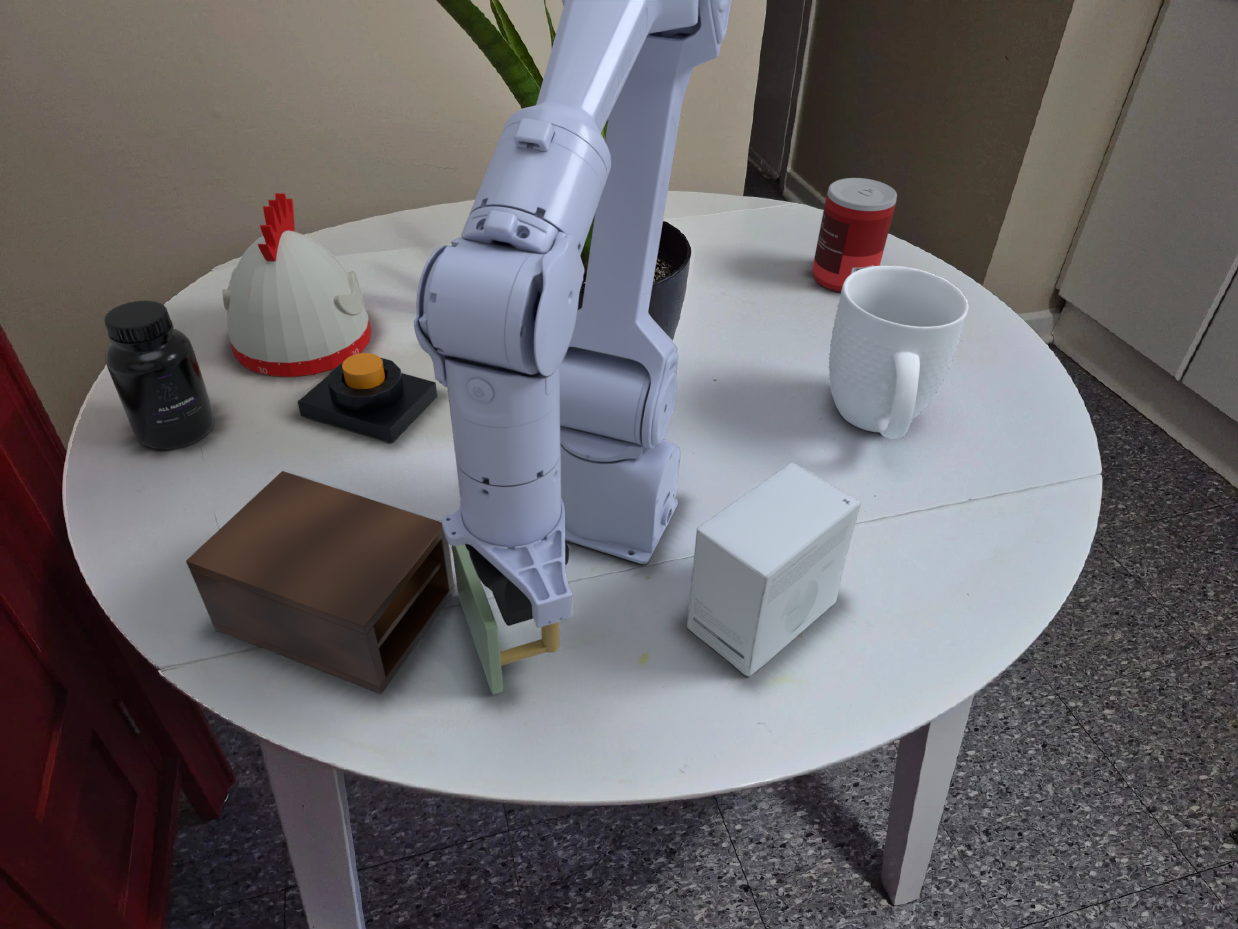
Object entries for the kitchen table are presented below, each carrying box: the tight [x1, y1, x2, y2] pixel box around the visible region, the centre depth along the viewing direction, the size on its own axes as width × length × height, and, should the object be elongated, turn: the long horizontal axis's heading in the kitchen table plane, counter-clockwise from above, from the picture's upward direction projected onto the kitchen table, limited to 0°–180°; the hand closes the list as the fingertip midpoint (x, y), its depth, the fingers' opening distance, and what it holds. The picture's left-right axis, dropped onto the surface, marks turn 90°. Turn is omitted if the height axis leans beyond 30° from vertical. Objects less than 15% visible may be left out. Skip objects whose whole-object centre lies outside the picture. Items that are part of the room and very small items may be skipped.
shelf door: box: [451, 544, 560, 696], centre depth 60 cm, size 5×9×8 cm, turn 22°
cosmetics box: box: [686, 461, 862, 678], centre depth 62 cm, size 10×6×10 cm, turn 133°
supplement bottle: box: [103, 299, 215, 450], centre depth 76 cm, size 7×7×12 cm
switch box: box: [296, 356, 438, 444], centre depth 82 cm, size 10×8×4 cm
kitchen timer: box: [221, 192, 372, 378], centre depth 86 cm, size 14×14×15 cm
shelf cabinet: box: [185, 470, 456, 695], centre depth 62 cm, size 14×10×7 cm
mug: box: [828, 265, 970, 440], centre depth 79 cm, size 15×11×13 cm
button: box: [342, 352, 385, 389], centre depth 80 cm, size 4×4×2 cm
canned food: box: [812, 177, 898, 293], centre depth 102 cm, size 8×8×11 cm
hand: (518, 613), depth 56 cm, fingers closed, pressing on shelf door
